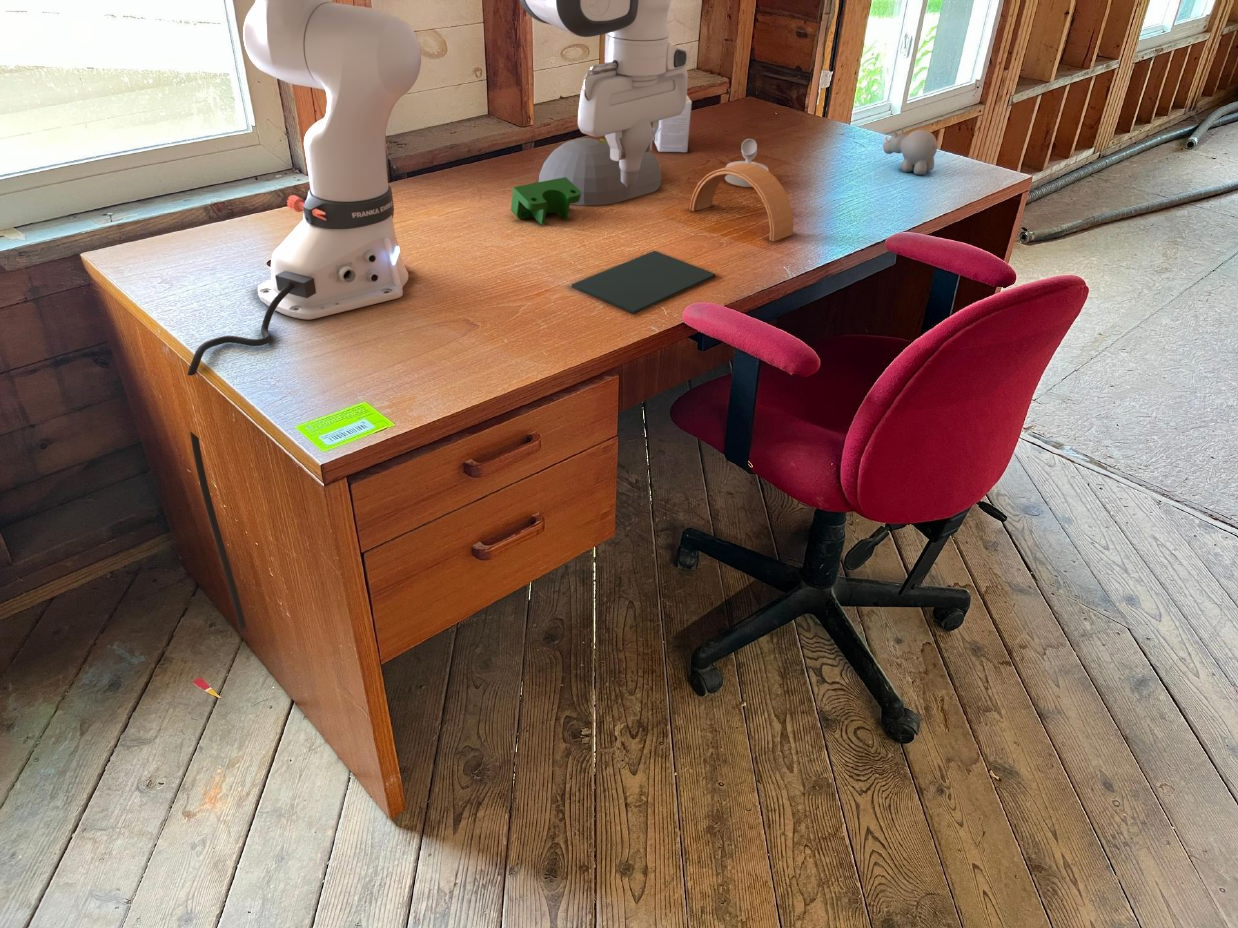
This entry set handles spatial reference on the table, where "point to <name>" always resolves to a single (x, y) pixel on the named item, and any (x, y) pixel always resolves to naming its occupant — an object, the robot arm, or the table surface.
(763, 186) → the arch
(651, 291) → the dark mat
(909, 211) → the table surface
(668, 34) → the robot arm
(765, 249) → the table surface
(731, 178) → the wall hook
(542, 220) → the clamp
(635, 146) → the lightbulb
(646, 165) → the baseball cap
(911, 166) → the chubby cartoon animal
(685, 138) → the light bulb box
